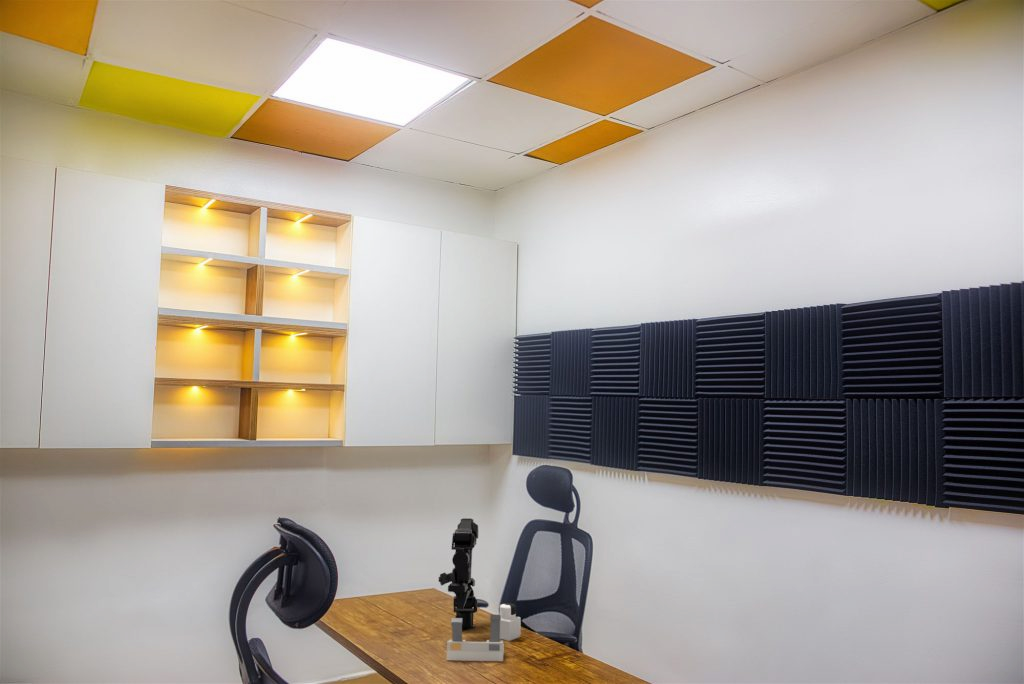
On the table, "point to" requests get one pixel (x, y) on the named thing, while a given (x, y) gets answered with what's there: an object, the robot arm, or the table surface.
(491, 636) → the lever
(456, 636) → the lever
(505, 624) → the medicine bottle
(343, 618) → the table surface
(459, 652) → the switch box
